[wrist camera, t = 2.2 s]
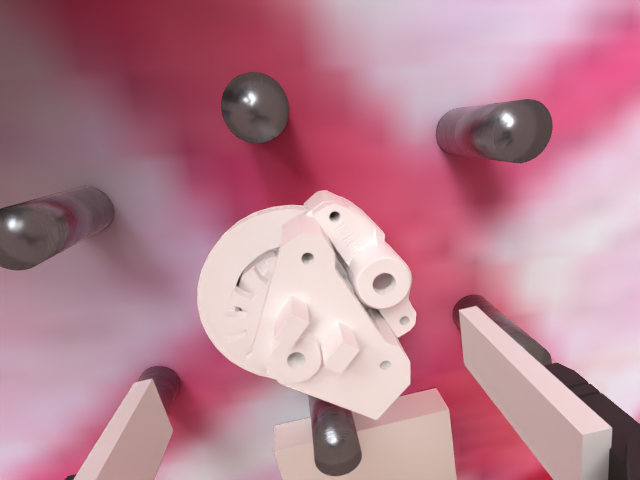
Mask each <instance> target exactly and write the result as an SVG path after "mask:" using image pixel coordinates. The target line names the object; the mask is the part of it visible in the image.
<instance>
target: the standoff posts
mask: <svg viewBox="0 0 640 480" xmlns="http://www.w3.org/2000/svg"><path fill="white" fill-rule="evenodd" d="M221 109H222V115H223V118H224V121H225V123H226V125H227V126H228V128H229V129H230V130H231V132H232V133H233V134H234V135H236V136H237V137H238V138H240V139H242V140H244V141H247V142H250V143H264V142H267V141H270V140H272V139H273V138H275V137H277V136H278V135H279V134H280V133H281V132H282V131H283V130H284V128H285V126H286V124H287V120H288V115H289V105H288V100H287V97H286V94H285V92H284V90H283V89H282V87H281V86H280V85H279V84H278V83H277V82H276V81H275V80H274V79H273V78H271V77H269V76H267V75H265V74H262V73H257V72H250V73H245V74H242V75H239V76H237V77H236V78H234V79H233V80H232V81H231V82H230V83H229V84H228V86H227V87H226V89H225V91H224V93H223V96H222V102H221ZM551 134H552V118H551V115H550V113H549V111H548V109H547V108H546V107H545V106H544V105H543V104H542V103H540V102H538V101H536V100H531V99H525V100H517V101H510V102H502V103H495V104H487V105H480V106H472V107H465V108H457V109H453V110H451V111H449V112H447V113H446V114H445V115H444V116H443V117H442V118H441V119H440V121H439V123H438V126H437V129H436V139H437V142H438V145H439V146H440V148H441V149H442V150H443V151H445V152H447V153H449V154H454V155H461V156H468V157H476V158H483V159H490V160H498V161H505V162H512V163H524V162H527V161H530V160H532V159H534V158H535V157H537V156H538V155H539V154H540V153H541V152H542V151H543V150H544V149H545V147H546V146H547V144H548V142H549V140H550V137H551ZM113 216H114V209H113V205H112V203H111V201H110V199H109V198H108V197H107V196H106V195H105V194H104V193H103V192H102V191H100V190H98V189H96V188H93V187H87V186H83V187H78V188H75V189H71V190H67V191H64V192H60V193H56V194H53V195H49V196H45V197H42V198H38V199H34V200H31V201H27V202H23V203H20V204H16V205H12V206H9V207H5V208H1V209H0V266H1V267H4V268H7V269H11V270H26V269H29V268H32V267H34V266H36V265H38V264H40V263H42V262H43V261H45V260H47V259H49V258H51V257H53V256H54V255H56V254H58V253H60V252H62V251H64V250H66V249H67V248H69V247H71V246H73V245H75V244H77V243H79V242H80V241H82V240H84V239H86V238H88V237H90V236H92V235H93V234H95V233H97V232H99V231H101V230H103V229H104V228H106V227H107V226H108V225H109V224H110V223H111V221H112V219H113ZM474 306H477V307H478V308H479V309H480V310H481V311H482V312H484V313H485V314H486V315H487V316H488V317H489V318H490V319H491V320H493V321H494V322H495V323H496V324H497V325H498V326H499V327H500V328H501V329H503V330H504V331H505V332H506V333H507V334H508V335H509V336H510V337H511V338H513V339H514V340H515V341H516V342H517V343H518V344H519V345H520V346H522V347H523V348H524V349H525V350H526V351H527V352H528V353H529V354H530V355H532V356H533V357H534V358H535V359H536V360H537V361H538V362H539V363H540V364H542V365H543V366H545V365H549V364H551V362H552V361H551V356H550V354H549V352H548V351H547V350H546V349H544V348H543V347H542V346H541V345H540V344H538V343H537V342H536V341H535V340H534V339H532V338H531V337H530V336H529V335H528V334H527V333H525V332H524V331H523V330H522V329H521V328H519V327H518V326H517V325H516V324H515V323H513V322H512V321H511V320H510V319H509V318H507V317H506V316H505V315H504V314H503V313H501V312H500V311H499V310H498V309H497V308H495V307H494V306H493V305H492V304H491V303H489V302H488V301H487V300H486V299H485V298H483V297H482V296H479V295H469V296H466V297H464V298H462V299H461V300H460V301H459V302H458V303H457V304H456V305H455V307H454V310H453V319H454V322H455V323H456V324H457V325H458V327H459V328H460V329H461V327H460V316H459V310H461V309H465V308H470V307H474ZM148 379H153V381H154V384H155V386H156V389H157V391H158V394H159V396H160V399H161V401H162V404H163V406H164V409H165V411H166V414H167V416H168V414H169V412H170V409H171V407H172V404H173V402H174V399H175V397H176V394H177V392H178V390H179V387H180V380H179V377H178V375H177V374H176V373H175V372H174V371H173V370H171V369H169V368H167V367H162V366H155V367H151V368H149V369H147V370H145V371H144V372H143V373H142V375H141V377H140V378H139V380H138V382H139V381H144V380H148ZM309 405H310V416H311V427H312V438H313V449H314V460H315V465H316V467H317V468H318V470H319V471H321V472H322V473H324V474H326V475H329V476H342V475H345V474H348V473H350V472H352V471H353V470H354V469H356V468H357V466H358V465H359V464H360V462H361V459H362V452H361V448H360V444H359V439H358V435H357V431H356V427H355V423H354V419H353V414H352V411H351V410H348V409H346V408H343V407H340V406H338V405H335V404H332V403H330V402H327V401H324V400H321V399H319V398H316V397H313V396H311V395H309Z"/></svg>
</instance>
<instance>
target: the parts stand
mask: <svg viewBox="0 0 640 480" xmlns="http://www.w3.org/2000/svg"><path fill="white" fill-rule="evenodd" d="M352 414H353V419H354V423H355V427H356V431H357V435H358V439H359V444H360V448H361V452H362V459H361V462H360V464H359V465H358V466H357V468H356V469H354V470H353V471H352V472H350V473H348V474H345V475H342V476H329V475H326V474H324V473H322V472H321V471H319V470H318V468H317V467H316V465H315V460H314V449H313V438H312V427H311V417H309V418H305V419H301V420H297V421H292V422H288V423H284V424H279V425H275V426H274V454H275V457H276V461H277V464H278V467H279V470H280V474H281V477H282V480H457V479H456V469H455V460H454V450H453V441H452V432H451V422H450V413H449V409H448V407H447V405H446V403H445V402H444V400H443V398H442V397H441V395H440V393H439V392H438V390H437V388H433V389H429V390H425V391H420V392H416V393H412V394H408V395H403V396H399V397H398V398H397V399H396V400H395V401H394V402H393V403H392V404H391V405H390V406H389V407H388V408H387V410H386V411H385V412H384V413H383V414H382V415H381V416H380V417H379V418H378V419H377V420H375V419H373V418H370V417H367V416H364V415H362V414H359V413H356V412H354V411H352Z"/></svg>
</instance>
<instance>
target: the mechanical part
mask: <svg viewBox="0 0 640 480" xmlns="http://www.w3.org/2000/svg"><path fill="white" fill-rule="evenodd" d="M411 285H412V274H411V271H410V269H409V267H408V265H407V264H406V263H405V262H404V261H403V260H402V259H401V257H400V256H399V255H398V254H397V253H396V252H395V251H394V250H393V249H392V248H391V247H390V245H389V244H387V243H386V242H385V234H384V232H383V231H382V230H381V229H380V228H379V227H378V226H377V225H376V224H375V223H374V222H373V221H372V220H371V219H370V218H369V217H368V216H367V215H366V214H365V213H364V211H363V210H362V209H360V208H359V207H358V206H356V205H355V204H353V203H352V202H351V201H349V200H347V199H345V198H343V197H342V196H338V195H336V194H333V193H331V192H329V191H327V190H323V191H317V192H316V193H314V194H313V195H312V196H311V197H310V198H309V199H308V200H307V201H306V202H304V206H303V205H283V206H274V207H270V208H266V209H263V210H260V211H257V212H254V213H252V214H250V215H249V216H247V217H245V218H243V219H241V220H239V221H238V222H237V223H235V224H234V225H233V226H232V227H231V228H230V229H228V230H227V231H226V232H225V233H224V234H223V235H222V236H221V238H220V239H219V240H218V242H217V243H216V244H215V245H214V247H213V248H212V250H211V252H210V253H209V255H208V257H207V259H206V261H205V263H204V266H203V268H202V270H201V274H200V278H199V282H198V287H197V306H198V310H199V315H200V319H201V322H202V325H203V327H204V329H205V331H206V333H207V335H208V337H209V338H210V340H211V341H212V343H213V344H214V345H215V347H216V348H217V349H218V350H219V351H220V352H221V353H222V354H223V355H224V356H225V357H226V358H228V359H229V360H230V361H231V362H233V363H234V364H236V365H238V366H239V367H241V368H243V369H244V370H247V371H249V372H252V373H254V374H257V375H260V376H264V377H269V378H272V379H276V380H277V381H278V382H279V383H280V384H281V385H284V386H287V387H289V388H292V389H295V390H297V391H300V392H303V393H305V394H308V395H311V396H313V397H316V398H319V399H321V400H324V401H327V402H330V403H332V404H335V405H338V406H340V407H343V408H346V409H348V410H351V411H354V412H356V413H359V414H362V415H364V416H367V417H370V418H373V419H375V420H377V419H378V418H379V417H380V416H381V415H382V414H383V413H384V412H385V411H386V410H387V408H388V407H389V406H390V405H391V404H392V403H393V402H394V401H395V400H396V399H397V398H398V397H399V396H400V395H401V393H402V392H403V391H404V390H405V389H406V388H407V387H408V386H409V385H410V360H409V358H408V357H407V355H406V353H405V351H404V349H403V347H402V346H401V344H400V342H399V340H398V338H399V337H400V336H402V335H404V334H405V333H407V332H408V331H410V330H411V329H412V328H413V326H414V325H415V323H416V311H415V310H414V308H413V307H412V305H411V302H410V301H409V292H410V289H411ZM395 334H396V335H395ZM397 337H398V338H397Z"/></svg>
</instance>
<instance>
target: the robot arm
mask: <svg viewBox="0 0 640 480" xmlns="http://www.w3.org/2000/svg"><path fill="white" fill-rule="evenodd" d="M459 316H460V327H461V338H462V348H463V359H464V365H465V366H466V368H467V369H468V370H469V371H470V373H471V374H472V375H473V377H474V378H475V379H476V380H477V382H478V383H479V384H480V386H481V387H482V388H483V390H484V391H485V392H486V393H487V395H488V396H489V397H490V399H491V400H492V401H493V402H494V404H495V405H496V406H497V408H498V409H499V410H500V411H501V413H502V414H503V415H504V417H505V418H506V419H507V421H508V422H509V423H510V424H511V426H512V427H513V428H514V430H515V431H516V432H517V433H518V435H519V436H520V437H521V439H522V440H523V441H524V442H525V444H526V445H527V446H528V448H529V449H530V450H531V452H532V453H533V454H534V455H535V457H536V458H537V459H538V461H539V462H540V463H541V464H542V466H543V467H544V468H545V470H546V471H547V472H548V473H549V475H550V476H551V477H552V479H553V480H640V424H639V423H638V422H636V421H635V420H634V419H633V418H632V417H630V416H629V415H628V414H627V413H625V412H624V411H623V410H622V409H621V408H619V407H618V406H617V405H616V404H614V403H613V402H612V401H611V400H609V399H608V398H607V397H606V396H605V395H603V394H602V393H601V394H600V392H599V391H598V390H597V389H596V388H595V387H594V386H592V385H591V384H588V382H587V381H586V380H585V379H584V378H583V377H581V376H580V375H579V374H578V373H576V372H575V371H574V370H571V369H569V368H567V367H565V366H563V365H561V364H559V363H554V364H549V365H545V366H543V365H542V364H540V363H539V362H538V361H537V360H536V359H535V358H534V357H533V356H532V355H530V354H529V353H528V352H527V351H526V350H525V349H524V348H523V347H522V346H520V345H519V344H518V343H517V342H516V341H515V340H514V339H513V338H511V337H510V336H509V335H508V334H507V333H506V332H505V331H504V330H503V329H501V328H500V327H499V326H498V325H497V324H496V323H495V322H494V321H493V320H491V319H490V318H489V317H488V316H487V315H486V314H485V313H484V312H482V311H481V310H480V309H479V308H478V307H477V306H474V307H470V308H465V309H461V310H459ZM172 433H173V429H172V426H171V424H170V421H169V419H168V416H167V414H166V411H165V409H164V406H163V404H162V401H161V399H160V396H159V394H158V391H157V389H156V386H155V384H154V381H153V379H148V380H144V381H139V382H135V383H134V384H133V385H132V387H131V388H130V390H129V392H128V393H127V395H126V396H125V398H124V400H123V401H122V403H121V404H120V406H119V408H118V409H117V411H116V412H115V414H114V416H113V417H112V419H111V420H110V422H109V424H108V425H107V427H106V428H105V430H104V432H103V433H102V435H101V436H100V438H99V439H98V441H97V443H96V444H95V446H94V447H93V449H92V451H91V452H90V454H89V455H88V457H87V459H86V460H85V462H84V463H83V465H82V467H81V468H80V470H79V471H78V473H77V474H75V475H71V476H68V477H67V478H66V479H65V480H154V479H155V476H156V474H157V471H158V469H159V466H160V464H161V461H162V458H163V456H164V453H165V451H166V448H167V446H168V443H169V440H170V438H171V435H172Z"/></svg>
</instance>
